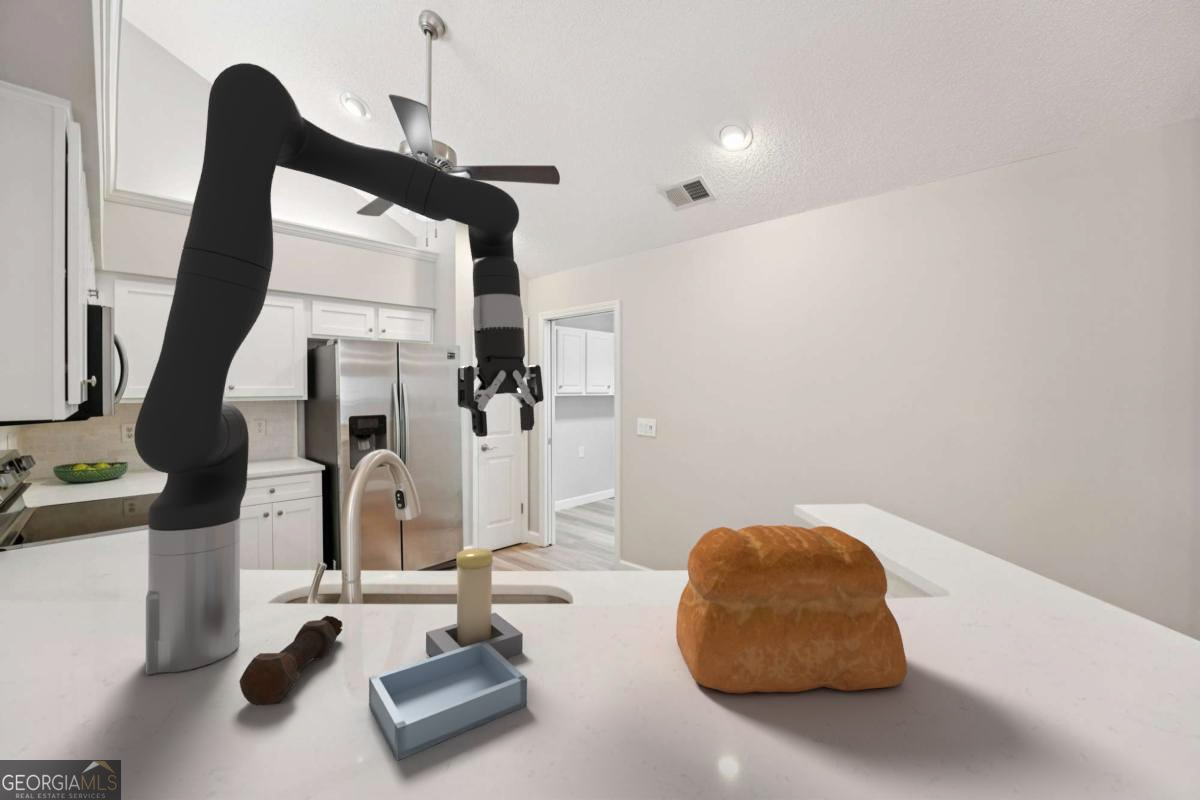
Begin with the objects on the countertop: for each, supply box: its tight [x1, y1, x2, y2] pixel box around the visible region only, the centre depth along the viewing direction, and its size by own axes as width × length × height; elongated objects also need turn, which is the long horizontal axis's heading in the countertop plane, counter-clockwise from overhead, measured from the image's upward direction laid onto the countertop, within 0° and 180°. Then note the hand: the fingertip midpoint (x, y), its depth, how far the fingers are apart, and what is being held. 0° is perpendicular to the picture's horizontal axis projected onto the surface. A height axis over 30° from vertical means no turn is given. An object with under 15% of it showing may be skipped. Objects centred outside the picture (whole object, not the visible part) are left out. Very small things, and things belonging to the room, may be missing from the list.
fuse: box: [456, 547, 494, 648], centre depth 66 cm, size 5×5×13 cm
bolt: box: [239, 615, 343, 706], centre depth 62 cm, size 6×5×15 cm
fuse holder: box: [425, 612, 524, 659], centre depth 66 cm, size 10×8×2 cm
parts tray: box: [368, 641, 528, 761], centre depth 54 cm, size 14×11×3 cm
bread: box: [675, 524, 908, 694], centre depth 64 cm, size 16×26×17 cm, turn 94°
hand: (504, 433), depth 77 cm, fingers open, 8 cm apart
